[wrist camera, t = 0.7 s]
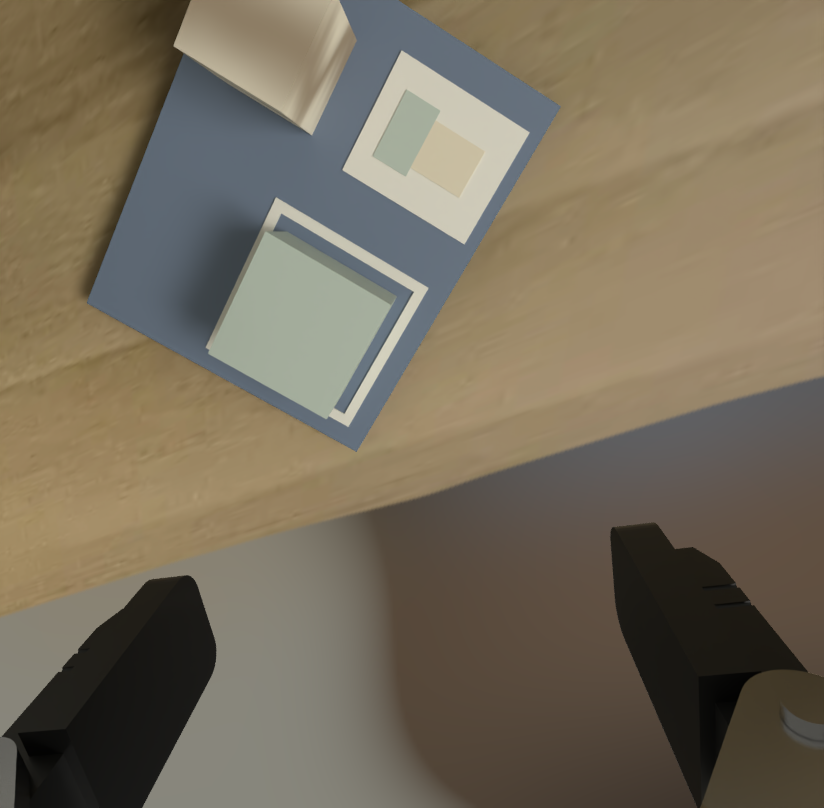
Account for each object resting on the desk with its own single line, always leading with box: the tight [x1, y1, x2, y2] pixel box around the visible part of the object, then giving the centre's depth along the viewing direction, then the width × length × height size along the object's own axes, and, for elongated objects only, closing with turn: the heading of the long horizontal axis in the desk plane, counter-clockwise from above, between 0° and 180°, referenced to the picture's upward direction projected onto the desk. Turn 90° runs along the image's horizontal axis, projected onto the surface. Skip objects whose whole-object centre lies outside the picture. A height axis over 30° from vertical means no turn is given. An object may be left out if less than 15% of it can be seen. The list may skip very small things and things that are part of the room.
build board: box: [87, 0, 561, 452], centre depth 31 cm, size 22×18×1 cm
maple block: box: [174, 0, 357, 135], centre depth 26 cm, size 5×5×6 cm
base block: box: [208, 231, 397, 419], centre depth 30 cm, size 7×7×4 cm
